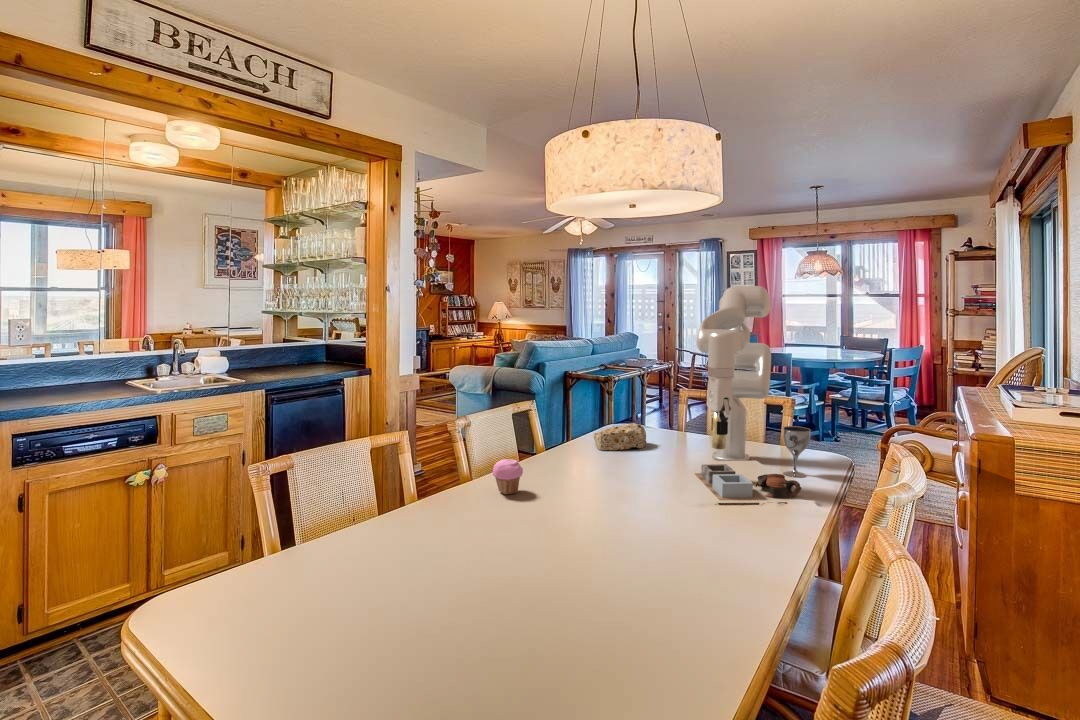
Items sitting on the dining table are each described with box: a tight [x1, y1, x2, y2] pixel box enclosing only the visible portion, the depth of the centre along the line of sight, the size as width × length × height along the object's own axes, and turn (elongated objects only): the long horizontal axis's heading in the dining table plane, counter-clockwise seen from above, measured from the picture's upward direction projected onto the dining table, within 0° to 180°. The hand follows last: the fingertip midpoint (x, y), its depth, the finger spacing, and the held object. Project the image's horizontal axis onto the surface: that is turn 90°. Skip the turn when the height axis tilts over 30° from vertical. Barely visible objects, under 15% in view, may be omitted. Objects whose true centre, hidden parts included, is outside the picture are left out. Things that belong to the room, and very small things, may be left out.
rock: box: [593, 422, 647, 451], centre depth 216 cm, size 21×14×10 cm
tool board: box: [694, 463, 760, 506], centre depth 164 cm, size 24×11×5 cm, turn 1°
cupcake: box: [492, 458, 524, 495], centre depth 163 cm, size 9×9×10 cm
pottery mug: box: [754, 473, 802, 504], centre depth 157 cm, size 12×10×8 cm
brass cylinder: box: [711, 409, 726, 450], centre depth 169 cm, size 4×4×12 cm
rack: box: [712, 473, 754, 498], centre depth 158 cm, size 8×8×4 cm
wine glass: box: [782, 425, 811, 479], centre depth 179 cm, size 8×8×15 cm
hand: (719, 431), depth 169 cm, fingers closed on brass cylinder, 4 cm apart
